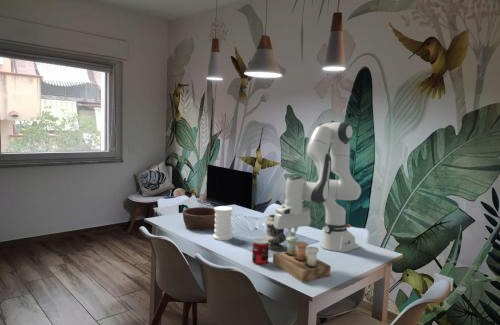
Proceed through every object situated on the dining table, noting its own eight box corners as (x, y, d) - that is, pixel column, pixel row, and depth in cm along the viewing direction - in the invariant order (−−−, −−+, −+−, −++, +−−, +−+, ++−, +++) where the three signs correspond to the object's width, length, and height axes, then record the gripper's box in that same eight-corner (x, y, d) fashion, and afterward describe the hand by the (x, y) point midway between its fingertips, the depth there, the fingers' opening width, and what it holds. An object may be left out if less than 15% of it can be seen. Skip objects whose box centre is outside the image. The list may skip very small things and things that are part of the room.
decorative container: (227, 241, 209) (228, 211, 208) (209, 238, 213) (210, 209, 211) (235, 236, 220) (236, 207, 218) (217, 233, 224) (218, 205, 222)
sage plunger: (292, 250, 182) (293, 236, 182) (299, 254, 178) (299, 239, 177) (283, 252, 180) (284, 237, 179) (289, 255, 175) (290, 240, 174)
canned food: (252, 258, 184) (253, 237, 183) (268, 259, 183) (269, 238, 182) (251, 264, 176) (252, 242, 175) (267, 265, 176) (268, 243, 175)
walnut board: (298, 258, 187) (299, 249, 186) (329, 276, 166) (330, 265, 165) (272, 263, 179) (273, 253, 178) (302, 282, 158) (302, 271, 157)
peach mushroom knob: (302, 255, 175) (302, 240, 175) (309, 259, 171) (310, 244, 170) (292, 257, 173) (293, 242, 172) (299, 261, 168) (300, 245, 167)
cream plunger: (312, 261, 169) (313, 245, 168) (320, 265, 164) (321, 249, 163) (302, 263, 166) (303, 247, 165) (310, 267, 161) (311, 251, 160)
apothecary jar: (278, 242, 211) (280, 212, 209) (289, 249, 200) (291, 217, 198) (260, 244, 206) (261, 214, 204) (270, 251, 195) (271, 219, 193)
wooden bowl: (174, 225, 237) (174, 210, 236) (202, 219, 256) (203, 205, 255) (199, 234, 221) (200, 218, 220) (228, 226, 240) (228, 211, 239)
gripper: (306, 205, 184) (304, 231, 185) (272, 208, 174) (271, 236, 176) (314, 208, 179) (312, 235, 180) (279, 211, 169) (278, 240, 170)
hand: (291, 235), depth 178 cm, fingers closed
